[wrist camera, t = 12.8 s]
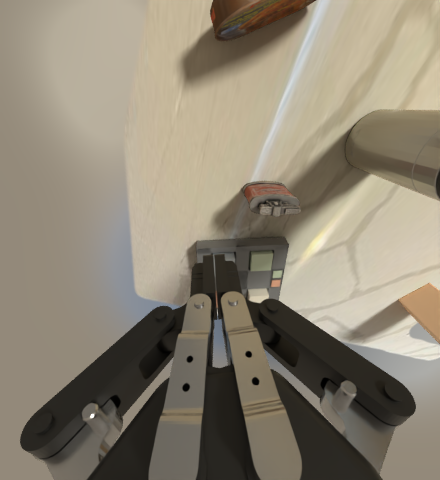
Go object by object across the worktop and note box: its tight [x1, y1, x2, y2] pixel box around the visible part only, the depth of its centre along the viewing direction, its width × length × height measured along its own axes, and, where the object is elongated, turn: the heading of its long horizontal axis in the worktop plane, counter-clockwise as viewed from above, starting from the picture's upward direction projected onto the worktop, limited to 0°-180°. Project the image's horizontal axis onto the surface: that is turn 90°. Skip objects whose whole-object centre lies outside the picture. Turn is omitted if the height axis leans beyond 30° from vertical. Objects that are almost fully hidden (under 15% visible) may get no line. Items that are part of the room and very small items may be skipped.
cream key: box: [247, 288, 269, 303], centre depth 50 cm, size 4×4×2 cm
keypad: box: [196, 237, 289, 309], centre depth 49 cm, size 19×19×3 cm
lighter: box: [243, 181, 301, 217], centre depth 36 cm, size 8×3×10 cm, turn 89°
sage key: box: [249, 250, 273, 271], centre depth 45 cm, size 4×4×2 cm
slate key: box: [213, 252, 235, 277], centre depth 44 cm, size 4×4×2 cm
